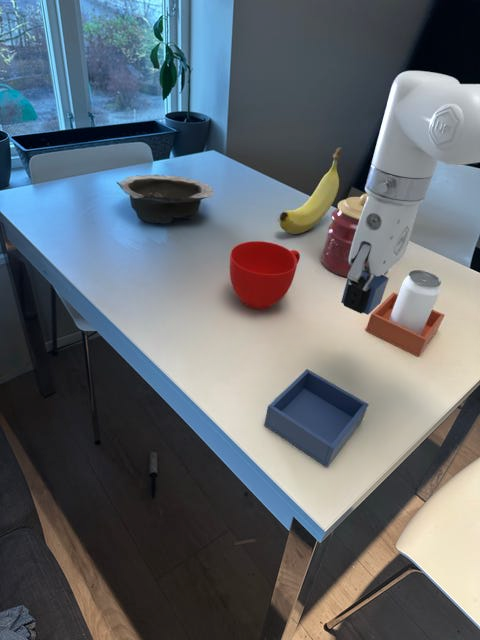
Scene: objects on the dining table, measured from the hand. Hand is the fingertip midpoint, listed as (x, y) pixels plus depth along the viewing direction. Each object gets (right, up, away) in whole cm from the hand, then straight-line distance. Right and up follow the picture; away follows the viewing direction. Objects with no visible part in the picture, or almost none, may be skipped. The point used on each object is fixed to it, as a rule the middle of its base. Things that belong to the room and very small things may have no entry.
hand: (361, 300), depth 67 cm
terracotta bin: (+13, -5, +20) cm, 25 cm away
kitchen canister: (+7, +10, +40) cm, 42 cm away
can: (+13, -5, +20) cm, 24 cm away
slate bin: (-7, -18, -1) cm, 20 cm away
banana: (-1, +22, +54) cm, 58 cm away
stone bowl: (-38, +27, +54) cm, 71 cm away
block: (0, 0, 0) cm, 0 cm away
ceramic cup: (-13, +2, +25) cm, 29 cm away
